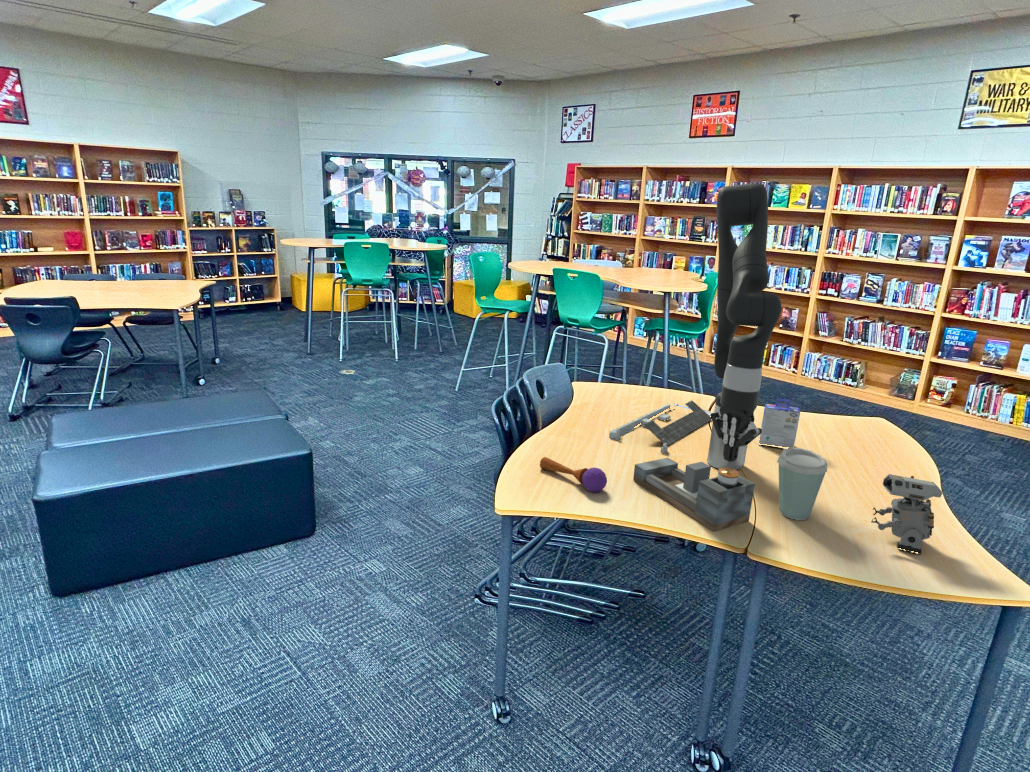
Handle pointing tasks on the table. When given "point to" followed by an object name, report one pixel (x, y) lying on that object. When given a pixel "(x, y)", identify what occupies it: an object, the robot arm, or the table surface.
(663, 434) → the paper cutter
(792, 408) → the ink cartridge box
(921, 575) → the table surface
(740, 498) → the grey stepped base
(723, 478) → the button
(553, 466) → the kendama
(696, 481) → the carriage
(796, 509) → the disposable coffee cup
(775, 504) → the table surface
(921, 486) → the figurine
